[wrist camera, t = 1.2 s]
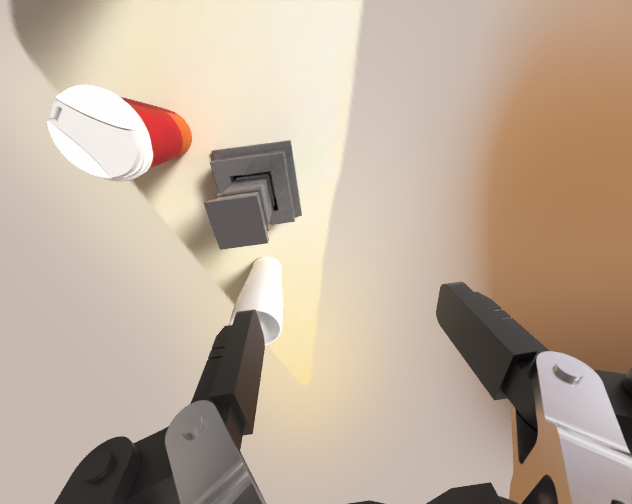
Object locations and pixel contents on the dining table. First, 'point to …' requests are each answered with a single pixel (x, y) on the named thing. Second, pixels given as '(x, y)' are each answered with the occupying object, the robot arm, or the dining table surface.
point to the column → (243, 211)
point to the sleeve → (262, 160)
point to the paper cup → (114, 133)
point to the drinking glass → (264, 297)
